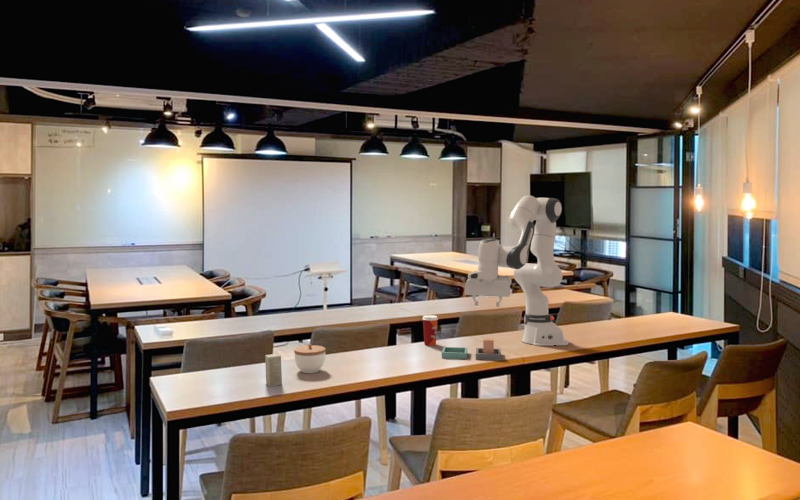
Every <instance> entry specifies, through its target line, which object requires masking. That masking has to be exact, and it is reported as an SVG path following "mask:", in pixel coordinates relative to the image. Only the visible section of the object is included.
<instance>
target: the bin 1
mask: <svg viewBox="0 0 800 500" xmlns="http://www.w3.org/2000/svg"><path fill="white" fill-rule="evenodd" d="M441 359H454V360H457V359H459V360H467V359H468V347H460V346H459V347H455V346H453V347H452V346H443V347H442V351H441Z"/></svg>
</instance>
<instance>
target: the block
mask: <svg viewBox="0 0 800 500" xmlns="http://www.w3.org/2000/svg"><path fill="white" fill-rule="evenodd" d="M494 340H495V339H494V337H483V341H482V343H483V345H482V346H483V347H482V348H483V353H485V354H494V349H495V347H494V346H495V345H494V343H495V341H494Z"/></svg>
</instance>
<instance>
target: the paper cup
mask: <svg viewBox="0 0 800 500" xmlns="http://www.w3.org/2000/svg"><path fill="white" fill-rule="evenodd" d="M438 320H439V318H438V316H437V315H433V314H430V315H429V314H428V315H423V316H422V326H423V341H424V346H428V347H429V346H430V347H435V346H436V345H437V332H438Z"/></svg>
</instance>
